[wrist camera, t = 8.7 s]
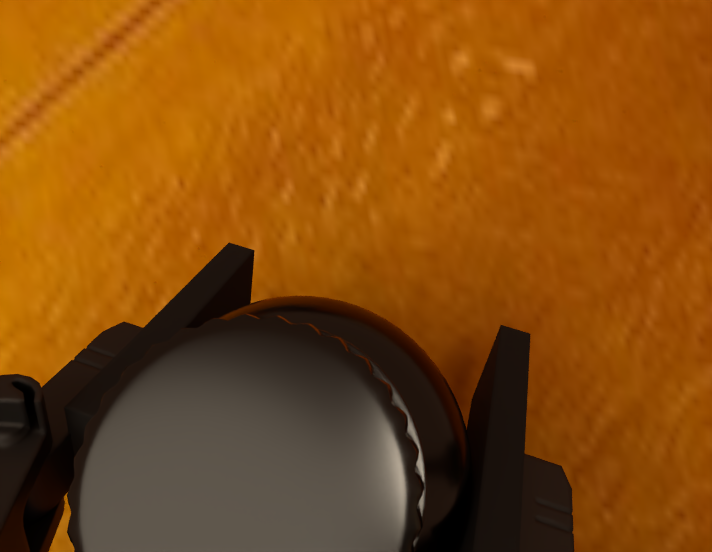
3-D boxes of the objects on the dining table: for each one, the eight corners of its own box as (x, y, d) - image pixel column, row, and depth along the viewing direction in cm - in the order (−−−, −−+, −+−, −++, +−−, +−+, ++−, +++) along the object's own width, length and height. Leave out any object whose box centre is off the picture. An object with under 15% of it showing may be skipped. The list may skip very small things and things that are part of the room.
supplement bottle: (476, 391, 19) (594, 362, 7) (396, 596, 18) (385, 947, 6) (290, 310, 20) (139, 175, 9) (202, 499, 19) (-112, 642, 7)
